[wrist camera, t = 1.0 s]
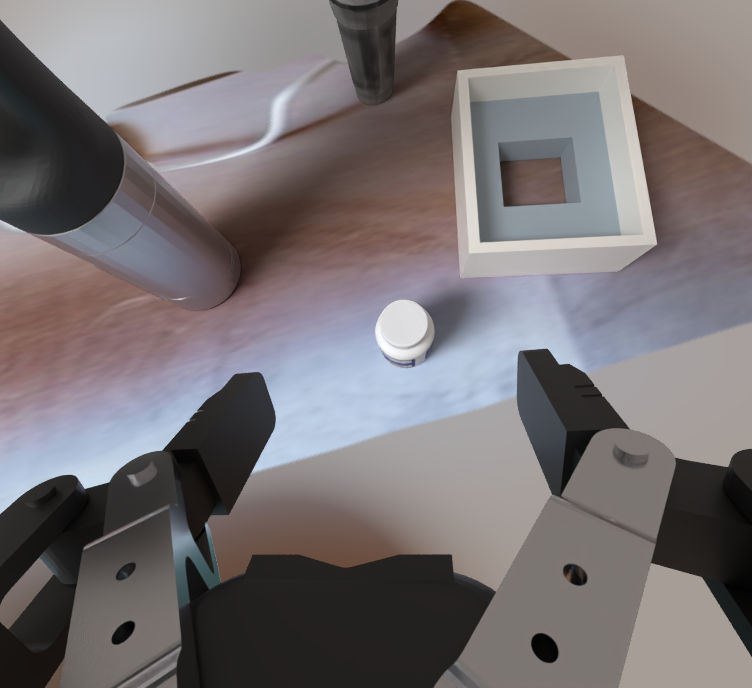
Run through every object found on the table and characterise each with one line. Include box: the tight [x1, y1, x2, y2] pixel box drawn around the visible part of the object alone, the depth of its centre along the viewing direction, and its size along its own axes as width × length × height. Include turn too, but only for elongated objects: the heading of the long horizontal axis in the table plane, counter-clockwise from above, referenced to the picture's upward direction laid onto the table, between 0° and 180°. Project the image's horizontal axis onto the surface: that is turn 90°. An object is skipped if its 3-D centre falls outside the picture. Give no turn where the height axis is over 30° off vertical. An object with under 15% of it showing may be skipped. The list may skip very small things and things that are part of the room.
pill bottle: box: [375, 300, 435, 368], centre depth 33 cm, size 5×5×9 cm
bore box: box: [451, 55, 657, 278], centre depth 37 cm, size 16×20×6 cm
